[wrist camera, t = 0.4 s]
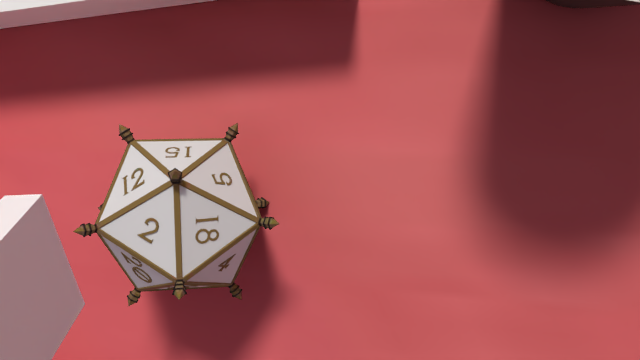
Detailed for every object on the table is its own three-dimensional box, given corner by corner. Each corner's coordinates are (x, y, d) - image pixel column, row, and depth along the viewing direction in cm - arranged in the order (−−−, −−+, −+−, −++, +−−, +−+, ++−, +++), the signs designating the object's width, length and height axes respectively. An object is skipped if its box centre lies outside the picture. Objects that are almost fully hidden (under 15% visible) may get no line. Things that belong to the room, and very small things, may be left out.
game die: (263, 209, 35) (279, 356, 27) (112, 215, 33) (86, 371, 26) (268, 76, 29) (289, 215, 22) (87, 75, 28) (44, 224, 20)
